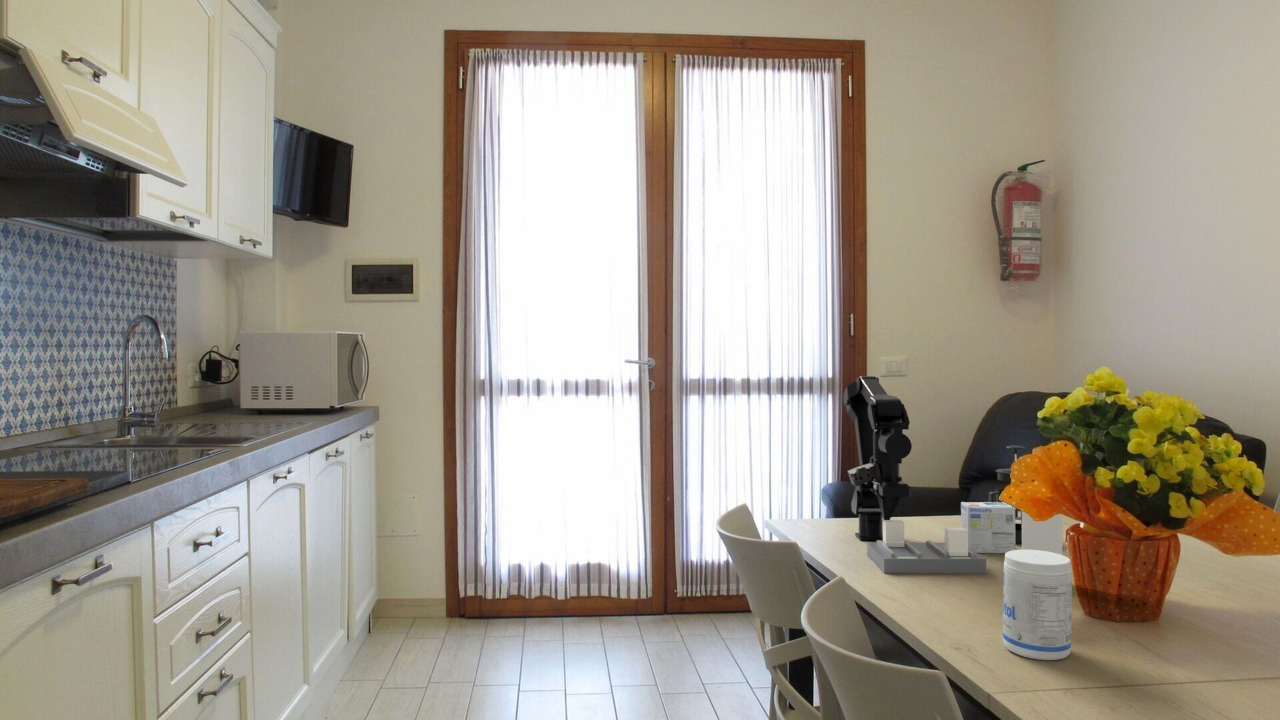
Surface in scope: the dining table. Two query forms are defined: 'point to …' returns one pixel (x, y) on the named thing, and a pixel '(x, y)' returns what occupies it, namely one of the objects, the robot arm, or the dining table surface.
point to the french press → (1003, 476)
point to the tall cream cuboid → (956, 541)
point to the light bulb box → (989, 526)
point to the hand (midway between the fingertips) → (886, 521)
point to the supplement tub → (1037, 604)
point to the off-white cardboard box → (1042, 534)
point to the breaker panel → (923, 559)
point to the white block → (893, 533)
